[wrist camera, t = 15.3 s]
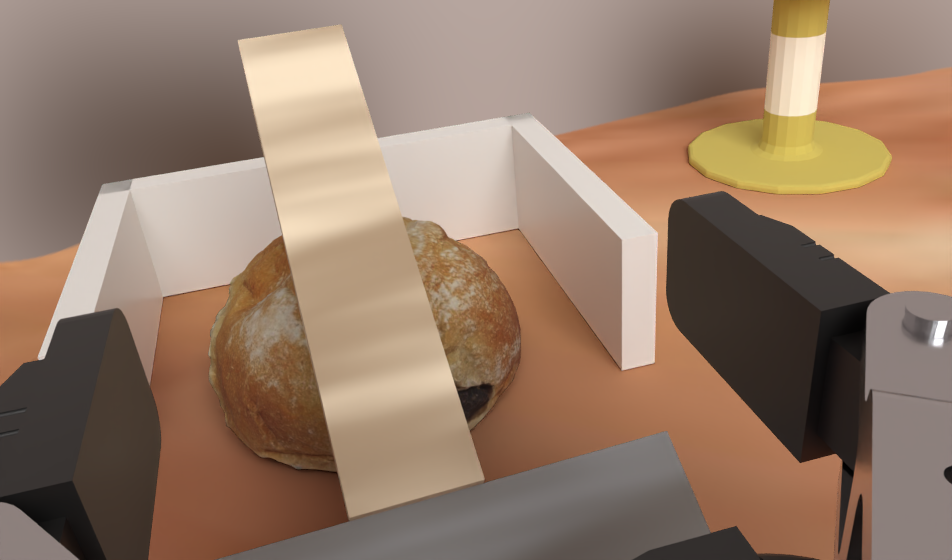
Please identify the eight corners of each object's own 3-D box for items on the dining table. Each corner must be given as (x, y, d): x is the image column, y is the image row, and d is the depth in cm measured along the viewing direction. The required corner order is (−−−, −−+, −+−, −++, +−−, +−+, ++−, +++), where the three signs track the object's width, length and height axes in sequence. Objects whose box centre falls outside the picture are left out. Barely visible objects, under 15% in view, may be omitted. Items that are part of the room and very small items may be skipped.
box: (654, 363, 29) (657, 232, 26) (94, 491, 25) (38, 356, 23) (535, 213, 40) (529, 112, 37) (137, 289, 37) (102, 184, 34)
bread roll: (338, 596, 26) (383, 460, 20) (140, 380, 29) (130, 212, 23) (532, 424, 32) (607, 284, 26) (351, 262, 35) (383, 108, 30)
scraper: (747, 604, 17) (486, 2, 25) (150, 809, 15) (70, 65, 23) (700, 623, 20) (478, 71, 28) (186, 800, 17) (103, 135, 25)
